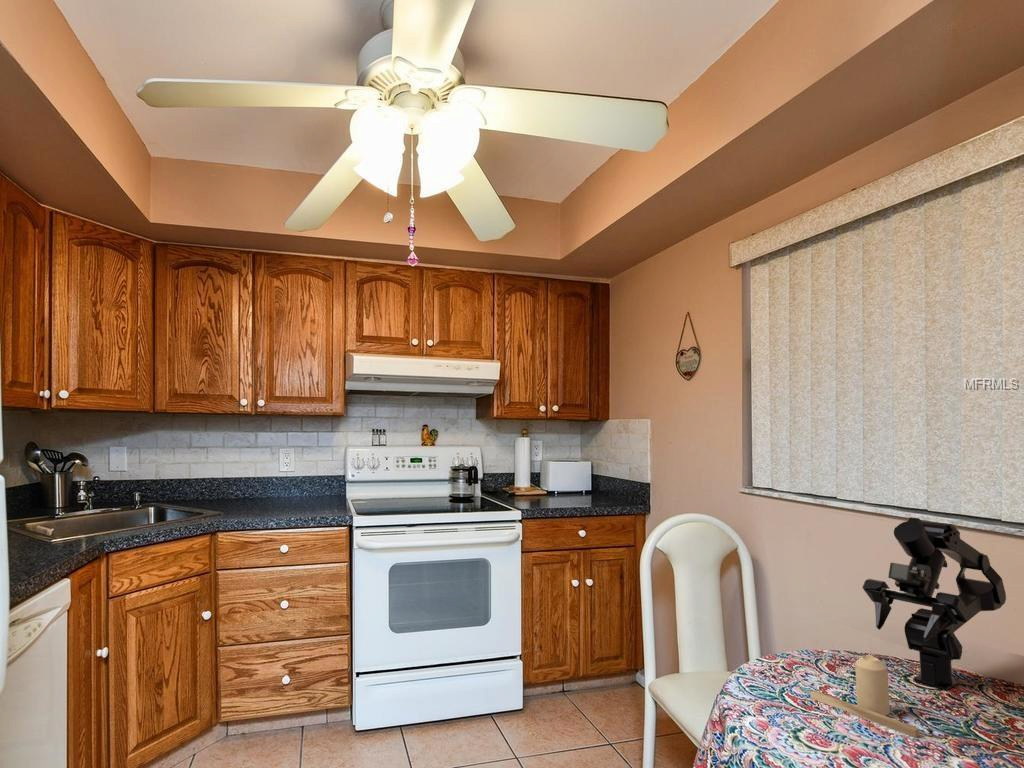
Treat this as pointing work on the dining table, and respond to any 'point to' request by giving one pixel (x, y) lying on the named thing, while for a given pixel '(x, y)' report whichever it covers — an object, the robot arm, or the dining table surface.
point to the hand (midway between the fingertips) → (900, 634)
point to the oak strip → (866, 714)
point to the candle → (872, 685)
